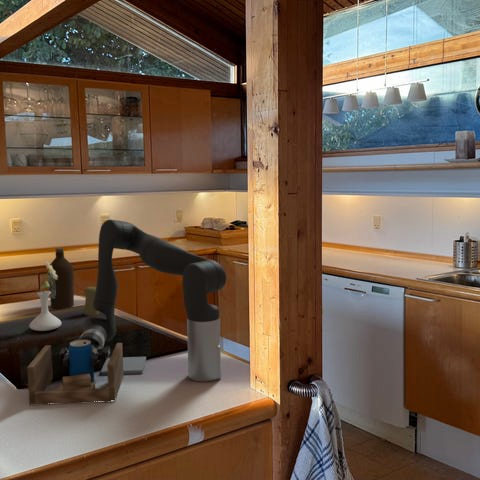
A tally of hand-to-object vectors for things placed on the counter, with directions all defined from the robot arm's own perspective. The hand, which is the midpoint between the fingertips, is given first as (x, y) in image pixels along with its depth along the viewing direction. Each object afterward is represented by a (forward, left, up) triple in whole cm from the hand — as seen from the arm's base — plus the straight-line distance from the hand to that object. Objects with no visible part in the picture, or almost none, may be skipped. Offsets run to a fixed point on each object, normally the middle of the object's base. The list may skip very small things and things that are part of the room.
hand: (79, 362), depth 162 cm
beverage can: (0, -2, -7) cm, 8 cm away
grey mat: (-10, -15, -7) cm, 20 cm away
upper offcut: (0, +4, -5) cm, 7 cm away
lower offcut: (0, +4, -8) cm, 9 cm away
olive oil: (+26, -94, -7) cm, 98 cm away
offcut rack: (0, +2, -7) cm, 7 cm away
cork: (+11, -80, -7) cm, 81 cm away
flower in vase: (+24, -60, -7) cm, 65 cm away
